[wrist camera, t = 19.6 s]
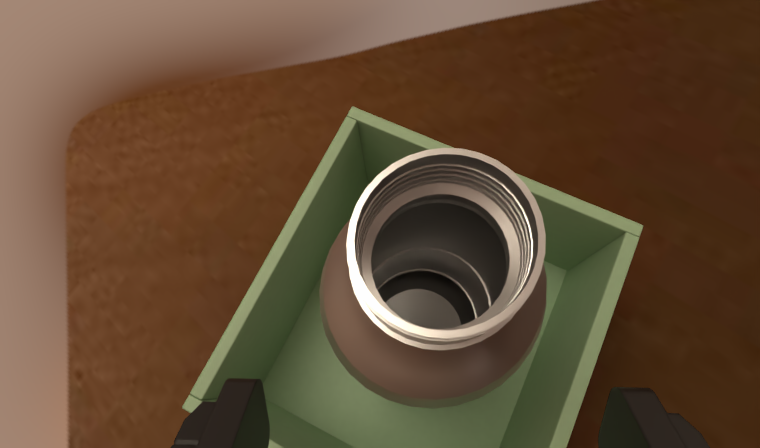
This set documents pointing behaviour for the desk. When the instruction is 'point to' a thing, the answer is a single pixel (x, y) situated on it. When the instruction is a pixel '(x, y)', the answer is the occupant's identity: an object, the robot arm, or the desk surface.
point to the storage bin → (367, 409)
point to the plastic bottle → (437, 280)
